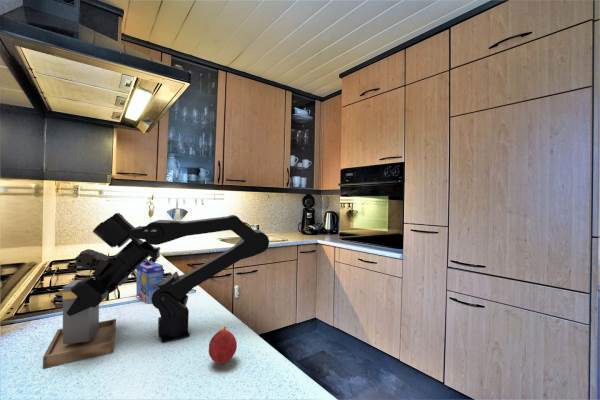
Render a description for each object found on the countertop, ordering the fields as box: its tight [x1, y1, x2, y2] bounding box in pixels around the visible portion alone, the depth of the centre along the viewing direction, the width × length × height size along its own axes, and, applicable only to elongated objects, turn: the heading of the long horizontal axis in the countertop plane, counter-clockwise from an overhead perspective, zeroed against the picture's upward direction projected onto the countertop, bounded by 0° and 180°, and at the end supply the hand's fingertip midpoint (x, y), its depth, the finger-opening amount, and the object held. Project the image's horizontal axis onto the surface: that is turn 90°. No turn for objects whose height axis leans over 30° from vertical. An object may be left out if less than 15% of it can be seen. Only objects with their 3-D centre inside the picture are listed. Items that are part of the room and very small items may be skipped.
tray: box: [42, 318, 117, 369], centre depth 66 cm, size 12×14×2 cm
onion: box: [208, 325, 238, 366], centre depth 59 cm, size 6×6×8 cm
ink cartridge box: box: [135, 258, 164, 305], centre depth 97 cm, size 10×6×14 cm, turn 51°
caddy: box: [61, 278, 100, 344], centre depth 66 cm, size 5×6×13 cm
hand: (74, 309), depth 66 cm, fingers closed on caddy, 5 cm apart
